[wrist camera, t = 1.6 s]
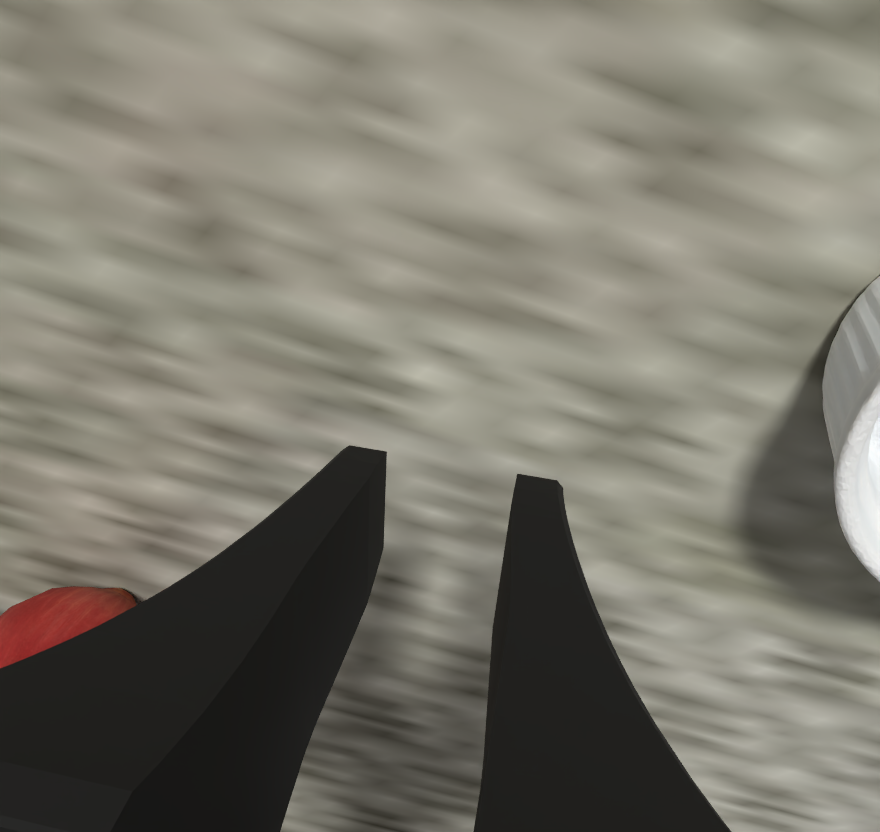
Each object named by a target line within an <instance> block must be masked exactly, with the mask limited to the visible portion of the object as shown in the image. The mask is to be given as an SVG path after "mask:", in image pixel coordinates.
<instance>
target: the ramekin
mask: <svg viewBox="0 0 880 832" xmlns="http://www.w3.org/2000/svg"><path fill="white" fill-rule="evenodd" d="M822 391H823V412H824V418H825V422H826V426H827V431H828V436H829V441H830V445H831V449H832V454H833V458H834V462H835V465H834V492H835V504H836V510H837V514H838V519H839V523H840V526H841V528H842V531H843V534H844V536H845V538H846V540H847V541H848V543H849V546H850V548H851V549H852V551H853V552H854V553H855V555H856V556H857V558H858V559H859V560H860V562H861V563H862V564H863V565H864V566H865V568H866V569H867V570H868V571H869V572H870V573H871V574H872V575H873V576H874V577H875V578H876V579H877V580H878V581H879V582H880V276H879V277H878V278H876V279H875V280H874V281H873V282H872V283H871V284H870V285H869V286H868V287H867V288H866V290H865V291H864V292H863V293H862V294H861V295H860V296H859V297H858V298H857V300H856V301H855V303H854V304H853V306H852V307H851V309H850V310H849V312H848V313H847V315H846V316H845V318H844V319H843V321H842V322H841V324H840V327H839V329H838V332H837V334H836V336H835V338H834V340H833V342H832V344H831V348H830V351H829V354H828V357H827V361H826V365H825V371H824V377H823V382H822Z"/></svg>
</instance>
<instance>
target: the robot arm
mask: <svg viewBox="0 0 880 832" xmlns="http://www.w3.org/2000/svg"><path fill="white" fill-rule="evenodd" d="M386 456H387V452H385V451H379V450H373V449H367V448H362V447H356V446H350V445H349V446H348V447H346V448H345V449H343V450H342V451H341V452H340V453H339V454H338V455H337V456H336V457H335V458H333V459H332V460H331V461H330V462H329V463H328V464H327V465H326V466H325V467H324V468H323V469H322V470H321V471H320V472H318V473H317V474H316V475H315V476H314V477H313V478H312V479H311V480H310V481H309V482H307V483H306V484H305V485H304V486H303V487H302V488H301V489H300V490H299V491H297V492H296V493H295V494H294V495H293V496H292V497H290V498H289V499H288V500H287V501H286V502H284V503H283V504H282V505H281V506H280V507H279V508H277V509H276V510H275V511H274V512H273V513H271V514H270V515H269V516H268V517H267V518H266V519H264V520H263V521H262V522H261V523H259V524H258V525H257V526H256V527H254V528H253V529H252V530H250V531H249V532H248V533H246V534H245V535H244V536H242V537H241V538H240V539H238V540H237V541H236V542H234V543H233V544H232V545H230V546H229V547H228V548H226V549H225V550H224V551H222V552H221V553H220V554H218V555H217V556H215V557H214V558H213V559H211V560H210V561H208V562H207V563H205V564H204V565H202V566H201V567H199V568H198V569H196V570H195V571H193V572H192V573H190V574H189V575H187V576H186V577H184V578H182V579H181V580H179V581H178V582H176V583H174V584H173V585H171V586H170V587H168V588H166V589H165V590H163V591H161V592H160V593H158V594H156V595H154V596H153V597H151V598H149V599H147V600H146V601H144V602H142V603H140V604H138V605H136V606H134V607H132V608H131V609H129V610H127V611H125V612H123V613H121V614H119V615H117V616H116V617H114V618H112V619H110V620H108V621H106V622H104V623H102V624H101V625H98V626H96V627H94V628H92V629H90V630H88V631H86V632H84V633H82V634H79V635H77V636H75V637H73V638H71V639H69V640H67V641H64V642H62V643H60V644H58V645H55V646H53V647H51V648H48V649H46V650H44V651H41V652H39V653H37V654H34V655H32V656H30V657H27V658H25V659H23V660H20V661H18V662H15V663H13V664H10V665H8V666H5V667H2V668H0V832H280V830H281V827H282V823H283V820H284V817H285V814H286V810H287V807H288V804H289V801H290V798H291V795H292V792H293V788H294V785H295V782H296V779H297V776H298V773H299V770H300V766H301V763H302V760H303V757H304V754H305V751H306V748H307V746H308V743H309V740H310V738H311V735H312V732H313V730H314V727H315V725H316V722H317V720H318V718H319V715H320V713H321V711H322V708H323V706H324V704H325V701H326V699H327V697H328V694H329V692H330V690H331V687H332V685H333V683H334V680H335V678H336V676H337V673H338V671H339V669H340V666H341V664H342V662H343V660H344V657H345V655H346V653H347V650H348V648H349V646H350V643H351V641H352V639H353V636H354V634H355V631H356V629H357V627H358V624H359V622H360V620H361V617H362V615H363V613H364V610H365V608H366V605H367V603H368V599H369V596H370V593H371V589H372V586H373V583H374V579H375V576H376V572H377V569H378V565H379V562H380V558H381V555H382V551H383V545H384V515H385V486H386ZM474 832H731V831H730V829H729V828H728V827H727V826H726V824H725V823H724V822H723V821H722V819H721V818H720V817H719V815H718V814H717V812H716V811H715V810H714V808H713V807H712V806H711V804H710V803H709V802H708V800H707V799H706V798H705V796H704V795H703V793H702V792H701V791H700V789H699V788H698V787H697V785H696V784H695V783H694V781H693V780H692V778H691V777H690V775H689V774H688V772H687V771H686V769H685V768H684V766H683V765H682V763H681V762H680V760H679V759H678V757H677V756H676V754H675V753H674V751H673V750H672V748H671V747H670V745H669V744H668V742H667V740H666V739H665V737H664V736H663V734H662V733H661V731H660V730H659V728H658V727H657V725H656V724H655V722H654V721H653V719H652V717H651V716H650V714H649V712H648V710H647V709H646V707H645V705H644V703H643V702H642V700H641V698H640V697H639V695H638V693H637V691H636V690H635V688H634V686H633V684H632V682H631V680H630V678H629V677H628V675H627V673H626V671H625V669H624V667H623V665H622V663H621V661H620V659H619V657H618V655H617V653H616V651H615V649H614V647H613V645H612V643H611V641H610V639H609V636H608V634H607V632H606V630H605V627H604V625H603V623H602V620H601V618H600V616H599V613H598V611H597V609H596V606H595V604H594V601H593V599H592V596H591V594H590V591H589V588H588V586H587V583H586V580H585V577H584V574H583V571H582V568H581V565H580V562H579V560H578V557H577V553H576V550H575V547H574V543H573V540H572V536H571V532H570V528H569V524H568V520H567V515H566V510H565V504H564V497H563V487H562V486H561V485H560V484H559V482H558V481H557V480H551V479H545V478H539V477H533V476H527V475H521V474H517V478H516V483H515V488H514V494H513V499H512V504H511V511H510V518H509V524H508V531H507V537H506V544H505V551H504V557H503V564H502V571H501V577H500V584H499V590H498V597H497V604H496V610H495V617H494V623H493V633H492V647H491V661H490V675H489V689H488V704H487V718H486V733H485V747H484V761H483V770H482V779H481V788H480V795H479V801H478V808H477V814H476V820H475V826H474Z"/></svg>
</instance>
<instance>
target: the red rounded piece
mask: <svg viewBox="0 0 880 832" xmlns="http://www.w3.org/2000/svg"><path fill="white" fill-rule="evenodd" d="M136 605H137V604H136V602H135V600H134V597H133V596H132V595H131V594H130V593H128V592H127V591H125V590H123V589H121V588H105V589H100V588H94V587H75V586H73V587H62V588H52V589H50V590H47V591H45V592H43V593H41V594H39V595H37V596H34V597H32V598H30V599H28V600H25V601H23V602H21V603H19V604H16V605H14V606H12V607H10V608H9V609H8V610H7V611H6V612H4V613H3V614H2V615H1V616H0V668H2V667H5V666H8V665H10V664H13V663H15V662H18V661H20V660H23V659H25V658H27V657H30V656H32V655H34V654H37V653H39V652H41V651H44V650H46V649H48V648H51V647H53V646H55V645H58V644H60V643H62V642H64V641H67V640H69V639H71V638H73V637H75V636H77V635H79V634H82V633H84V632H86V631H88V630H90V629H92V628H94V627H96V626H98V625H101V624H102V623H104V622H106V621H108V620H110V619H112V618H114V617H116V616H117V615H119V614H121V613H123V612H125V611H127V610H129V609H131V608H132V607H134V606H136Z"/></svg>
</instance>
